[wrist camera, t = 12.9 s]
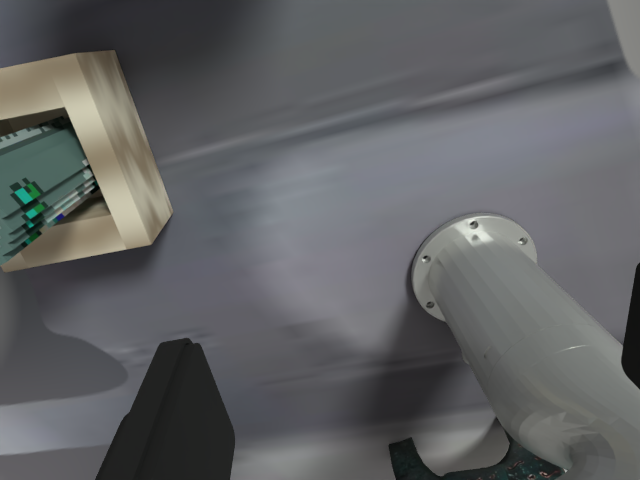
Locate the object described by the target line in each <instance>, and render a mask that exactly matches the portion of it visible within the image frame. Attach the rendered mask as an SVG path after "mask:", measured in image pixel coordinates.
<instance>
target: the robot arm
mask: <svg viewBox="0 0 640 480" xmlns="http://www.w3.org/2000/svg"><path fill="white" fill-rule="evenodd" d="M471 222H472V223H471ZM470 223H471V224H470ZM424 256H425V257H424ZM411 282H412V287H413V291H414V293H415V295H416V298H417V300H418V301H419V303H420V305H421V306H422V307H423V308H424V309H425V310H426V311H427V312H428V313H429V314H430V315H432V316H433V317H435V318H437V319H439V320H441V321H444V322H447V324H448V325H449V327H450V329H451V331H452V333H453V335H454V337H455V339H456V341H457V342H458V344H459V346H460V348H461V350H462V359H463V361H464V362H466V363H468V364H469V365H470V367H471V369H472V371H473V373H474V375H475V376H476V378H477V380H478V382H479V384H480V386H481V388H482V390H483V392H484V393H485V395H486V397H487V399H488V401H489V403H490V405H491V407H492V409H493V411H494V413H495V415H496V416H497V418H498V420H499V422H500V423H501V425H502V426H503V427H504V429H505V430H506V431H507V432H508V433H509V435H510V436H511V437H512V438H513V439H514V440H516V441H517V442H518V443H519V444H520V445H521V446H523V447H524V448H525V449H527V450H528V451H530V452H532V453H533V454H535V455H536V456H538V457H540V458H542V459H544V460H546V461H548V462H550V463H552V464H554V465H557V466H559V467H561V468H564V469H566V470H568V471H567V472H566V473H564V474H563V475H561V476H560V477H558V478H557V479H555V480H640V263H639V264H638V265H637V268H636V272H635V278H634V284H633V290H632V296H631V302H630V308H629V314H628V320H627V326H626V332H625V338H624V344H623V346H622V345H621V344H620V343H619V342H618V341H617V340H616V339H615V338H614V337H613V336H612V335H611V334H610V333H609V332H607V331H606V330H605V329H604V328H603V327H602V326H601V325H600V324H599V323H598V322H597V321H596V320H595V319H594V318H593V317H592V316H591V315H590V314H588V313H587V312H586V311H585V310H584V309H583V308H582V307H581V306H580V305H579V304H578V303H577V302H576V301H575V300H574V299H573V298H572V297H571V296H570V295H568V294H567V293H566V292H565V291H564V290H563V289H562V288H561V287H560V286H559V285H558V284H557V283H556V282H555V281H554V280H553V279H552V278H551V277H549V276H548V275H547V274H546V273H545V272H544V271H543V270H542V269H541V268H540V267H539V266H538V265H537V252H536V248H535V245H534V242H533V241H532V239H531V237H530V236H529V234H528V233H527V232H526V231H525V230H524V229H523V228H522V227H521V226H520V225H518V224H517V223H516V222H514V221H513V220H511V219H509V218H507V217H504V216H502V215H497V214H493V213H475V214H468V215H464V216H461V217H458V218H455V219H453V220H451V221H449V222H447V223H445V224H443V225H442V226H441V227H439V228H438V229H437V230H435V231H434V232H433V233H432V234H431V235H430V236H429V237H428V238H427V239H426V240H425V241H424V243H423V244H422V246H421V247H420V248H419V250H418V252H417V254H416V256H415V259H414V261H413V266H412V270H411ZM234 448H235V435H234V430H233V427H232V424H231V421H230V419H229V416H228V414H227V411H226V409H225V406H224V403H223V401H222V398H221V396H220V393H219V391H218V388H217V385H216V383H215V380H214V378H213V375H212V373H211V370H210V368H209V365H208V362H207V360H206V357H205V355H204V352H203V350H202V347H201V345H200V344H199V343H194V344H193V343H192V341H191V340H190V339H189V338H184V339H178V340H173V341H167V342H162V343H161V344H160V345H159V346H158V348H157V351H156V353H155V355H154V357H153V360H152V362H151V364H150V366H149V369H148V371H147V373H146V376H145V378H144V380H143V382H142V385H141V387H140V389H139V392H138V394H137V396H136V398H135V401H134V403H133V405H132V407H131V410H130V412H129V413H128V414H127V415H126V416H125V417H124V418H123V420H122V421H121V423H120V425H119V428H118V430H117V432H116V434H115V436H114V439H113V441H112V443H111V445H110V448H109V450H108V452H107V454H106V457H105V459H104V461H103V463H102V466H101V468H100V470H99V472H98V474H97V476H96V479H95V480H230V475H231V468H232V461H233V454H234Z"/></svg>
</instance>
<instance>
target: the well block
mask: <svg viewBox="0 0 640 480" xmlns="http://www.w3.org/2000/svg"><path fill="white" fill-rule="evenodd" d="M60 116H63V117H64V119H65V118H68V117H70V120H71V122H72V124H73V127H74V129H75V131H76V133H77V136H78V138H79V140H80V143H81V145H82V147H83V150H84V152H85V154H86V157H87V159H88V161H89V164H90V166H91V168H92V170H93V173H94V175H95V177H96V180H97V182H98V184H99V187H100V189H99V190H97V191H96V192H95V193H94V194H92V195H91V196H90V197H89V198H87V199H86V200H85V201H84V202H82V203H81V204H80V205H78V206H77V207H76V208H75V209H73V210H72V211H71V212H70V213H68V214H67V215H66V216H65V217H63V218H62V219H61V220H60V221H58V222H57V223H56V224H54V225H53V226H52V227H51V228H49V229H48V230H47V231H46V232H44V233H43V234H42V235H41V236H39V237H38V238H37V239H35V240H34V241H33V242H32V243H30V244H29V245H28V246H27V247H25V248H24V249H23V250H22V251H20V252H19V253H18V254H16V255H15V256H14V257H13V258H11V259H10V260H9V261H8V262H6V263H4V264H2V265H1V267H2V269H3V271H4V272H10V271H15V270H21V269H26V268H31V267H37V266H42V265H47V264H52V263H58V262H63V261H68V260H73V259H79V258H84V257H89V256H94V255H100V254H105V253H110V252H115V251H121V250H126V249H131V248H136V247H142V246H147V245H151V244H152V243H153V241H154V240H155V238H156V237H157V236H158V234H159V233H160V231H161V230H162V228H163V227H164V225H165V224H166V222H167V221H168V219H169V218H170V217H171V215H172V214H173V210H172V207H171V204H170V201H169V199H168V196H167V193H166V190H165V188H164V185H163V182H162V179H161V176H160V174H159V171H158V168H157V165H156V163H155V160H154V157H153V154H152V152H151V149H150V146H149V143H148V141H147V138H146V135H145V132H144V129H143V127H142V124H141V121H140V118H139V116H138V113H137V110H136V107H135V105H134V102H133V99H132V96H131V94H130V91H129V88H128V85H127V82H126V80H125V77H124V74H123V71H122V69H121V66H120V63H119V60H118V58H117V55H116V52H115V50H108V51H96V52H84V53H74V54H69V55H64V56H59V57H54V58H49V59H45V60H40V61H35V62H30V63H25V64H20V65H15V66H10V67H6V68H1V69H0V137H3V136H6V135H9V134H12V133H14V132H17V131H20V130H23V129H26V128H29V127H32V126H35V125H37V124H40V123H43V122H46V121H49V120H52V119H55V118H57V117H60Z"/></svg>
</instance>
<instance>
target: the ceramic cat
mask: <svg viewBox="0 0 640 480" xmlns="http://www.w3.org/2000/svg"><path fill="white" fill-rule="evenodd" d="M503 429H504V427H503ZM504 431H505V433H506V435H507V438H508V440H509V442H510V445H509V449H508V452H507V453H506V455H505V457H504V458H503V459H502V460H501V461H500V462H499V463H497V464H496V465H494V466H490V467H487V468H480V469H473V470H464V471H456V472H449V473H447V474H445V475H444V476H442V477H441V476H437V475H436V474H435V473H433V472H432V471H431V470H430V469H429V468H428V467H427V466H426V465H425V464H424V463H423V461H422V459H421V458H420V456H419V454H418V453H417V450H416V447H415V445H414V443H413V440H412V438H409V439H406V440H404V441H402V442H399V443H394V444H390V445H389V451H390V457H391V463H392V467H393V471H394V474H395V478H396V480H555V479H557V478H558V477H560V476H561V475H563V474H564V473H565V471H564V469H563V468H561V467H559V466H557V465H554V464H552V463H550V462H548V461H546V460H544V459H542V458H540V457H538V456H536V455H535V454H533V453H532V452H530V451H528V450H527V449H525V448H524V447H523V446H521V445H520V444H519V443H518V442H517V441H516V440H514V439H513V438H512V437H511V436H510V435H509V433H508V432H507V431H506V430H505V429H504Z"/></svg>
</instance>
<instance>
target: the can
mask: <svg viewBox="0 0 640 480" xmlns="http://www.w3.org/2000/svg"><path fill="white" fill-rule="evenodd" d="M99 189H100V187H99V184H98V182H97V180H96V177H95V175H94V173H93V170H92V168H91V166H90V164H89V161H88V159H87V157H86V154H85V152H84V150H83V147H82V145H81V143H80V140H79V138H78V136H77V133H76V131H75V129H74V127H73V124H72V122H71V120H70V117H68V118H65V119H64V117H63V116H60V117H57V118H55V119H52V120H49V121H46V122H43V123H40V124H37V125H35V126H32V127H29V128H26V129H23V130H20V131H17V132H14V133H12V134H9V135H6V136H3V137H0V266H1V265H2V264H4V263H6V262H8V261H9V260H10V259H11V258H13V257H14V256H15V255H16V254H18V253H19V252H20V251H22V250H23V249H24V248H25V247H27V246H28V245H29V244H30V243H32V242H33V241H34V240H35V239H37V238H38V237H39V236H41V235H42V234H43V233H44V232H46V231H47V230H48V229H49V228H51V227H52V226H53V225H54V224H56V223H57V222H58V221H60V220H61V219H62V218H63V217H65V216H66V215H67V214H68V213H70V212H71V211H72V210H73V209H75V208H76V207H77V206H78V205H80V204H81V203H82V202H84V201H85V200H86V199H87V198H89V197H90V196H91V195H92V194H94V193H95V192H96V191H97V190H99Z"/></svg>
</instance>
